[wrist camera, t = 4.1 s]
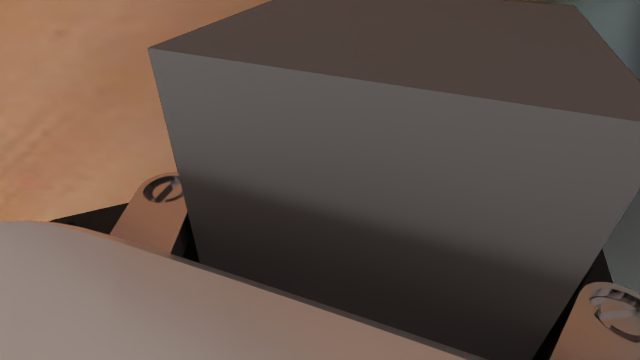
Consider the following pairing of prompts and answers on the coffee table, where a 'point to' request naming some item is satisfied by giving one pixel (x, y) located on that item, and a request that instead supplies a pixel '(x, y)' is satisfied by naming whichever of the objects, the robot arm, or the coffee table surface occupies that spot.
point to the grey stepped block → (406, 158)
